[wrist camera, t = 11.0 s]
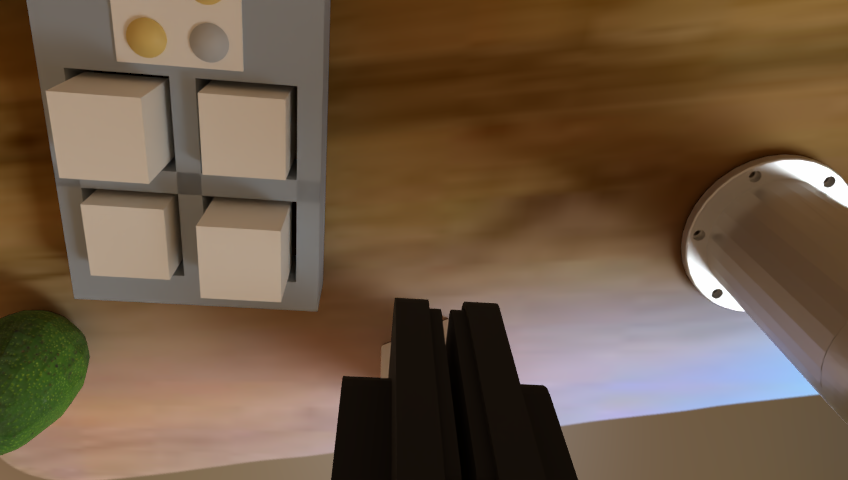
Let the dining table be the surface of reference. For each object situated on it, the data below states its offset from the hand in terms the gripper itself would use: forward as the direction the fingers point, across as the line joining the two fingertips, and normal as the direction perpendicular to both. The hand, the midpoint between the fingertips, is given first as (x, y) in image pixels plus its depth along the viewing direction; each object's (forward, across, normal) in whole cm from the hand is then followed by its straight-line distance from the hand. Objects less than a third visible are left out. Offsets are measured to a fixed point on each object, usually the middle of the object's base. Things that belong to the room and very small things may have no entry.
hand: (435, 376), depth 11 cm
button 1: (+33, +17, +6) cm, 37 cm away
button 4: (+33, +9, +13) cm, 36 cm away
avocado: (+35, +25, +24) cm, 49 cm away
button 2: (+35, +17, +13) cm, 41 cm away
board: (+35, +13, +7) cm, 38 cm away
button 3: (+35, +9, +6) cm, 36 cm away
